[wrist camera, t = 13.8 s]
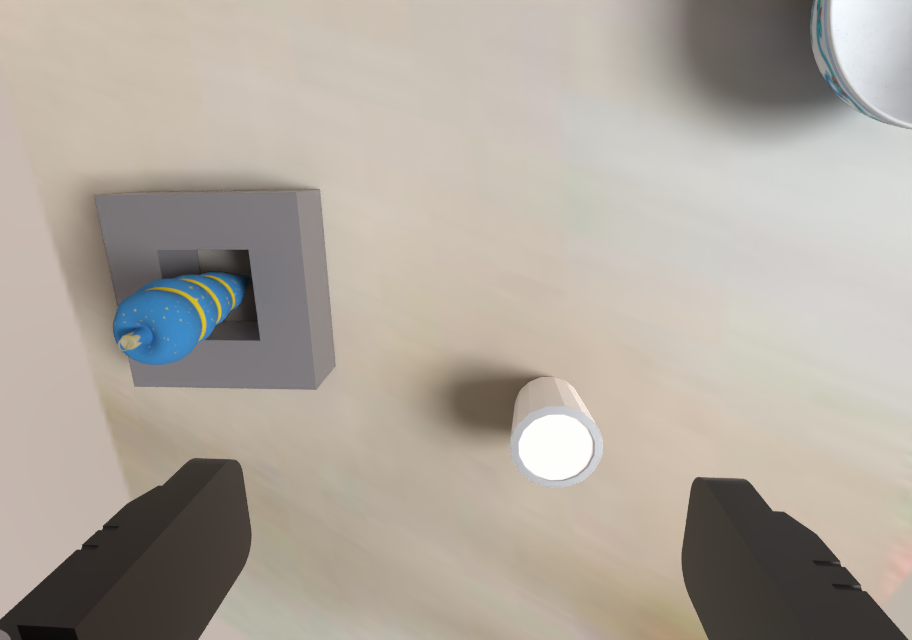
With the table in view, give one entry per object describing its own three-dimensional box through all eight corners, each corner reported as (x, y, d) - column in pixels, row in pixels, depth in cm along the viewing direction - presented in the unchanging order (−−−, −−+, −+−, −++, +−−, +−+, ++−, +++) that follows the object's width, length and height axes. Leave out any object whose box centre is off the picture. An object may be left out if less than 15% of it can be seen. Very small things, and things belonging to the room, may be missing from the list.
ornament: (267, 247, 42) (144, 294, 28) (283, 307, 43) (174, 380, 29) (209, 256, 43) (61, 305, 28) (227, 314, 44) (94, 389, 30)
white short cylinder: (502, 435, 45) (502, 481, 39) (514, 363, 43) (517, 399, 37) (578, 447, 45) (593, 495, 38) (595, 376, 43) (613, 414, 36)
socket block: (140, 191, 42) (93, 194, 37) (319, 189, 40) (296, 192, 36) (172, 363, 46) (134, 386, 41) (335, 366, 45) (316, 389, 40)
